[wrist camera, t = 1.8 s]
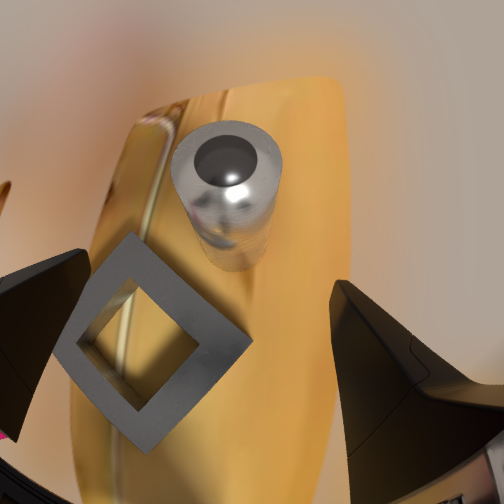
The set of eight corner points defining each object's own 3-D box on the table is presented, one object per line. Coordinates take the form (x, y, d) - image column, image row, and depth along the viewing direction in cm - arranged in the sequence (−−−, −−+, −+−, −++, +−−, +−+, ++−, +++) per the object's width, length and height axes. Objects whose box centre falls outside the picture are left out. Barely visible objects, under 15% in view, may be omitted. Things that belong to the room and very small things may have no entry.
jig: (155, 444, 18) (145, 454, 15) (60, 341, 20) (43, 340, 17) (252, 340, 20) (253, 340, 18) (142, 241, 22) (131, 230, 20)
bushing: (238, 285, 22) (230, 233, 11) (191, 244, 22) (147, 167, 12) (279, 237, 23) (305, 154, 12) (232, 201, 24) (222, 105, 13)
